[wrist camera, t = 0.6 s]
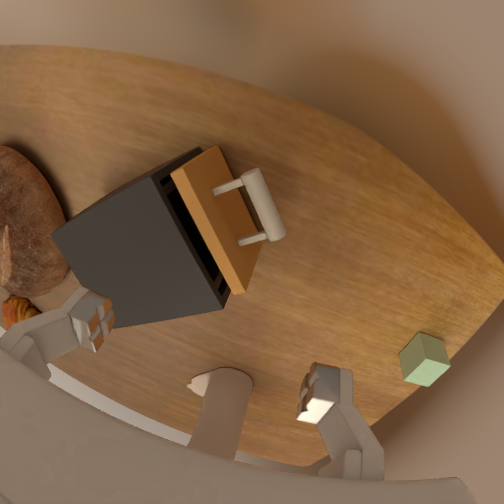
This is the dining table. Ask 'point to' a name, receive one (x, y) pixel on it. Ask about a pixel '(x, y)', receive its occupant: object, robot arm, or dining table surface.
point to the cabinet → (140, 253)
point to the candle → (220, 410)
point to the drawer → (222, 216)
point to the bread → (28, 228)
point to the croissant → (17, 310)
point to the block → (423, 360)
